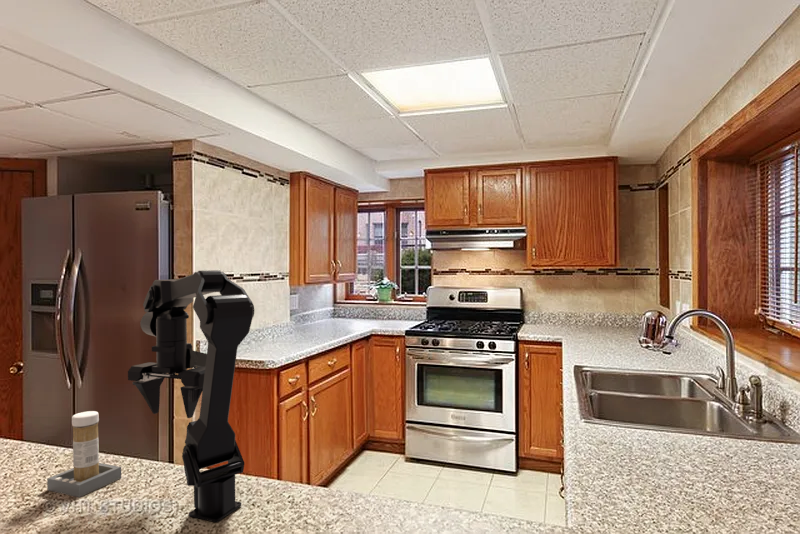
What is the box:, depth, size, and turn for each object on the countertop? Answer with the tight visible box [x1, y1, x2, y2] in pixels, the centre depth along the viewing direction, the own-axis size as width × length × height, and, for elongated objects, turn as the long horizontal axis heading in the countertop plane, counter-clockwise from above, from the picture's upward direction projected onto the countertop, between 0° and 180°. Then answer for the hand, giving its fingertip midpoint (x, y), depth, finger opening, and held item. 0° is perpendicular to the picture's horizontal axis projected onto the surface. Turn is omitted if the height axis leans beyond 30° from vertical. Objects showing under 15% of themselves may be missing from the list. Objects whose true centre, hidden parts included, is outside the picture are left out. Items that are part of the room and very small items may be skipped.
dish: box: [46, 462, 122, 498], centre depth 99 cm, size 9×9×2 cm
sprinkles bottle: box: [71, 410, 100, 482], centre depth 99 cm, size 5×5×14 cm
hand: (172, 415), depth 101 cm, fingers open, 9 cm apart
